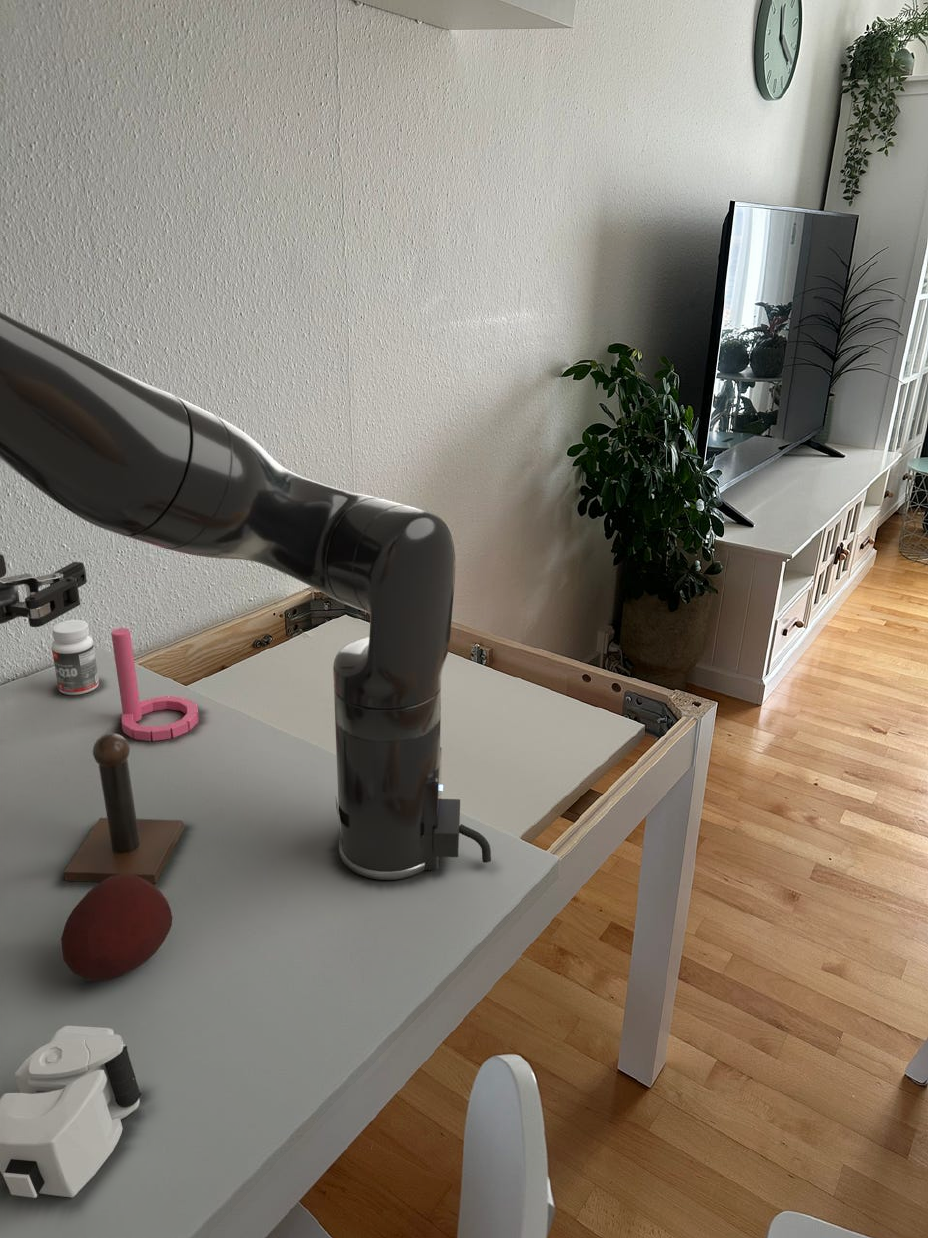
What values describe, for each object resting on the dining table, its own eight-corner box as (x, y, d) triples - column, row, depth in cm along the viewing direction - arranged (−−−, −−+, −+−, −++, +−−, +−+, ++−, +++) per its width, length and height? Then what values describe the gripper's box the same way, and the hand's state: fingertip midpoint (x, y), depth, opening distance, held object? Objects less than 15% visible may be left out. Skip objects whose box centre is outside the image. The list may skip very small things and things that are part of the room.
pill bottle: (50, 691, 111) (39, 629, 107) (78, 675, 115) (68, 615, 111) (80, 699, 109) (69, 636, 106) (107, 683, 113) (98, 622, 110)
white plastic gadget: (158, 1067, 61) (90, 1222, 52) (65, 1060, 61) (-18, 1213, 52) (141, 1007, 58) (66, 1160, 49) (44, 1001, 59) (-47, 1151, 50)
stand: (184, 828, 86) (170, 714, 81) (155, 884, 78) (138, 762, 74) (101, 826, 86) (82, 711, 81) (65, 881, 79) (41, 759, 74)
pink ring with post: (210, 709, 107) (202, 623, 103) (176, 745, 100) (165, 654, 95) (143, 701, 109) (132, 616, 105) (105, 735, 101) (91, 645, 97)
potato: (62, 992, 69) (22, 921, 67) (147, 917, 75) (113, 850, 73) (118, 1012, 65) (76, 937, 62) (203, 931, 71) (168, 860, 69)
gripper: (-15, 597, 69) (103, 536, 83) (-175, 580, 71) (-32, 523, 86) (2, 685, 71) (113, 610, 86) (-152, 665, 74) (-18, 596, 89)
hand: (41, 567), depth 86 cm, fingers open, 8 cm apart
